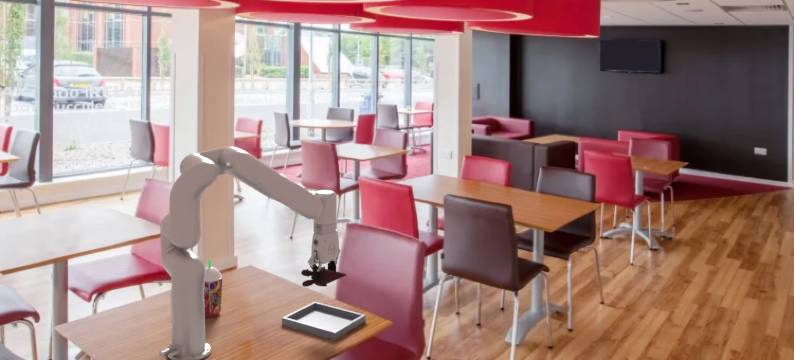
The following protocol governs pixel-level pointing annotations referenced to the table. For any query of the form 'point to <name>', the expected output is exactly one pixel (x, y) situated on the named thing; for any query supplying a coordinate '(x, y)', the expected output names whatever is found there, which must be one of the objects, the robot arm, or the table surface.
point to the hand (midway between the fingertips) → (324, 278)
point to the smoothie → (212, 291)
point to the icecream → (322, 277)
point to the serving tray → (324, 320)
